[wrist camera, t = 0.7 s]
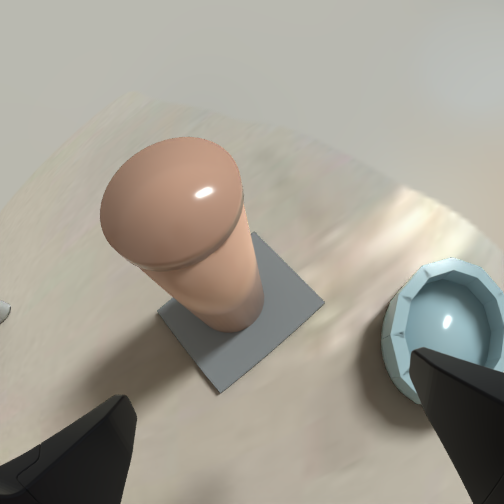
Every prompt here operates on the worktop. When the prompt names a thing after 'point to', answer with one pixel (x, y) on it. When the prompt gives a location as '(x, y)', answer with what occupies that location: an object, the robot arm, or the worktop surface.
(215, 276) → the dome-capped peach post
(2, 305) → the tall pale column
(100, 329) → the worktop surface
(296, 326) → the mat
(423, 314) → the bowl
